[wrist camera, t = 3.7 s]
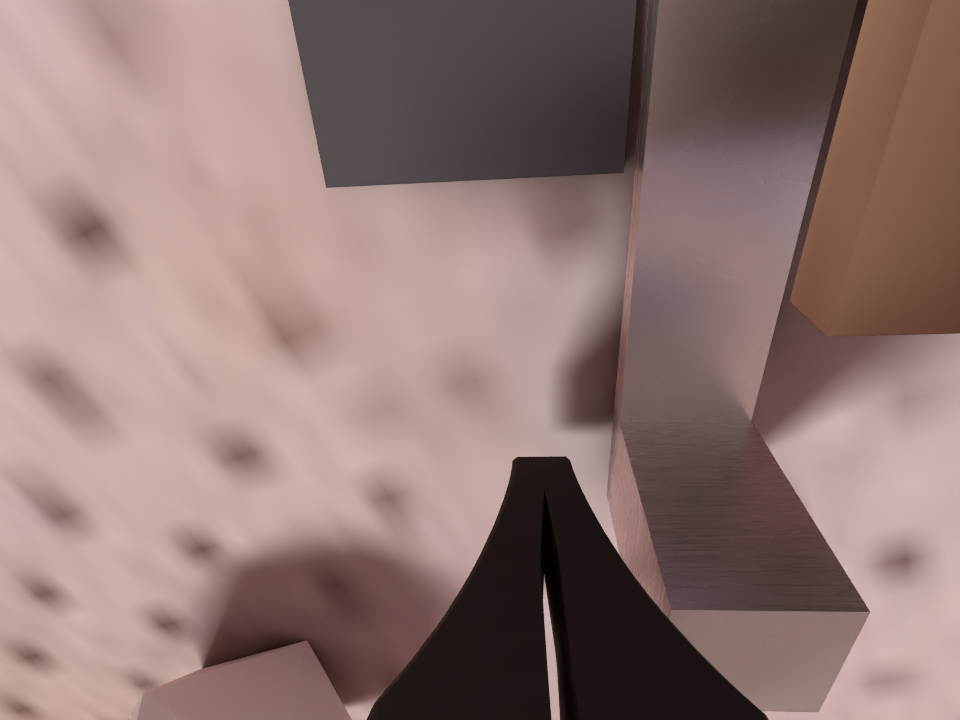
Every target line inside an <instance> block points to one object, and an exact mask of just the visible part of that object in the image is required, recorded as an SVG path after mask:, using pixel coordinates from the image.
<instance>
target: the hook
mask: <svg viewBox="0 0 960 720" xmlns="http://www.w3.org/2000/svg"><path fill="white" fill-rule="evenodd" d="M857 2H858V0H649V11H648V23H647V34H646V46H645V58H644V69H643V81H642V92H641V104H640V116H639V127H638V139H637V150H636V162H635V174H634V185H633V197H632V208H631V220H630V232H629V243H628V255H627V266H626V278H625V290H624V301H623V313H622V324H621V336H620V348H619V359H618V371H617V382H616V394H615V406H614V417H613V429H612V440H611V452H610V463H609V475H608V487H607V497H608V501H609V506H610V511H611V516H612V521H613V526H614V530H615V535H616V540H617V545H618V550H619V555H620V557H621V558H622V560H623V561H624V563H625V564H626V565H627V567H628V568H629V570H630V571H631V572H632V574H633V575H634V577H635V578H636V579H637V581H638V582H639V583H640V584H641V586H642V587H643V588H644V590H645V591H646V592H647V594H648V595H649V596H650V597H651V598H652V600H653V601H654V602H655V603H656V605H657V606H658V607H659V608H660V609H661V611H662V612H663V613H664V614H665V615H666V616H667V618H668V619H669V620H670V621H671V622H672V623H673V624H674V625H675V626H676V627H677V629H678V630H679V631H680V632H681V633H682V634H683V635H684V636H685V637H686V638H687V640H688V641H689V642H690V643H691V644H692V645H693V646H694V647H695V648H696V649H697V650H698V651H699V652H700V653H701V654H702V655H703V656H704V657H705V658H706V659H707V660H708V661H709V662H710V663H711V664H712V665H713V666H714V667H715V668H716V669H717V670H718V671H719V672H720V673H721V674H722V675H723V676H724V677H725V678H726V679H727V680H728V681H729V682H730V683H731V684H732V685H733V686H734V687H735V688H736V689H738V690H739V691H740V692H741V693H742V694H743V695H744V696H745V697H746V698H747V699H748V700H750V701H751V702H752V703H753V704H754V705H755V706H756V707H757V708H759V709H760V710H761V711H786V712H819V710H820V708H821V706H822V704H823V702H824V701H825V699H826V697H827V695H828V693H829V691H830V689H831V687H832V685H833V683H834V681H835V679H836V677H837V675H838V673H839V672H840V670H841V668H842V666H843V664H844V662H845V660H846V658H847V656H848V654H849V652H850V650H851V648H852V646H853V644H854V643H855V641H856V639H857V637H858V635H859V633H860V631H861V629H862V627H863V625H864V623H865V621H866V619H867V617H868V615H869V614H870V611H869V609H868V608H867V606H866V605H865V603H864V601H863V600H862V598H861V596H860V595H859V593H858V592H857V590H856V588H855V587H854V585H853V584H852V582H851V580H850V579H849V577H848V576H847V574H846V572H845V571H844V569H843V568H842V566H841V564H840V563H839V561H838V559H837V558H836V556H835V555H834V553H833V551H832V550H831V548H830V547H829V545H828V543H827V542H826V540H825V539H824V537H823V535H822V534H821V532H820V531H819V529H818V527H817V526H816V524H815V522H814V521H813V519H812V518H811V516H810V514H809V513H808V511H807V510H806V508H805V506H804V505H803V503H802V502H801V500H800V498H799V497H798V495H797V494H796V492H795V490H794V489H793V487H792V485H791V484H790V482H789V481H788V479H787V477H786V476H785V474H784V473H783V471H782V469H781V468H780V466H779V465H778V463H777V461H776V460H775V458H774V457H773V455H772V453H771V452H770V450H769V448H768V447H767V445H766V444H765V442H764V440H763V439H762V437H761V436H760V434H759V432H758V431H757V429H756V428H755V426H754V424H753V423H752V421H751V420H752V416H753V412H754V408H755V404H756V400H757V396H758V393H759V389H760V385H761V381H762V377H763V373H764V369H765V365H766V361H767V357H768V353H769V349H770V345H771V341H772V337H773V333H774V329H775V325H776V322H777V318H778V314H779V310H780V306H781V302H782V298H783V294H784V290H785V286H786V282H787V278H788V274H789V270H790V266H791V262H792V258H793V254H794V251H795V247H796V243H797V239H798V235H799V231H800V227H801V223H802V219H803V215H804V211H805V207H806V203H807V199H808V195H809V191H810V187H811V183H812V180H813V176H814V172H815V168H816V164H817V160H818V156H819V152H820V148H821V144H822V140H823V136H824V132H825V128H826V124H827V120H828V116H829V112H830V109H831V105H832V101H833V97H834V93H835V89H836V85H837V81H838V77H839V73H840V69H841V65H842V61H843V57H844V53H845V49H846V45H847V42H848V38H849V34H850V30H851V26H852V22H853V18H854V14H855V10H856V6H857Z"/></svg>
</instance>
